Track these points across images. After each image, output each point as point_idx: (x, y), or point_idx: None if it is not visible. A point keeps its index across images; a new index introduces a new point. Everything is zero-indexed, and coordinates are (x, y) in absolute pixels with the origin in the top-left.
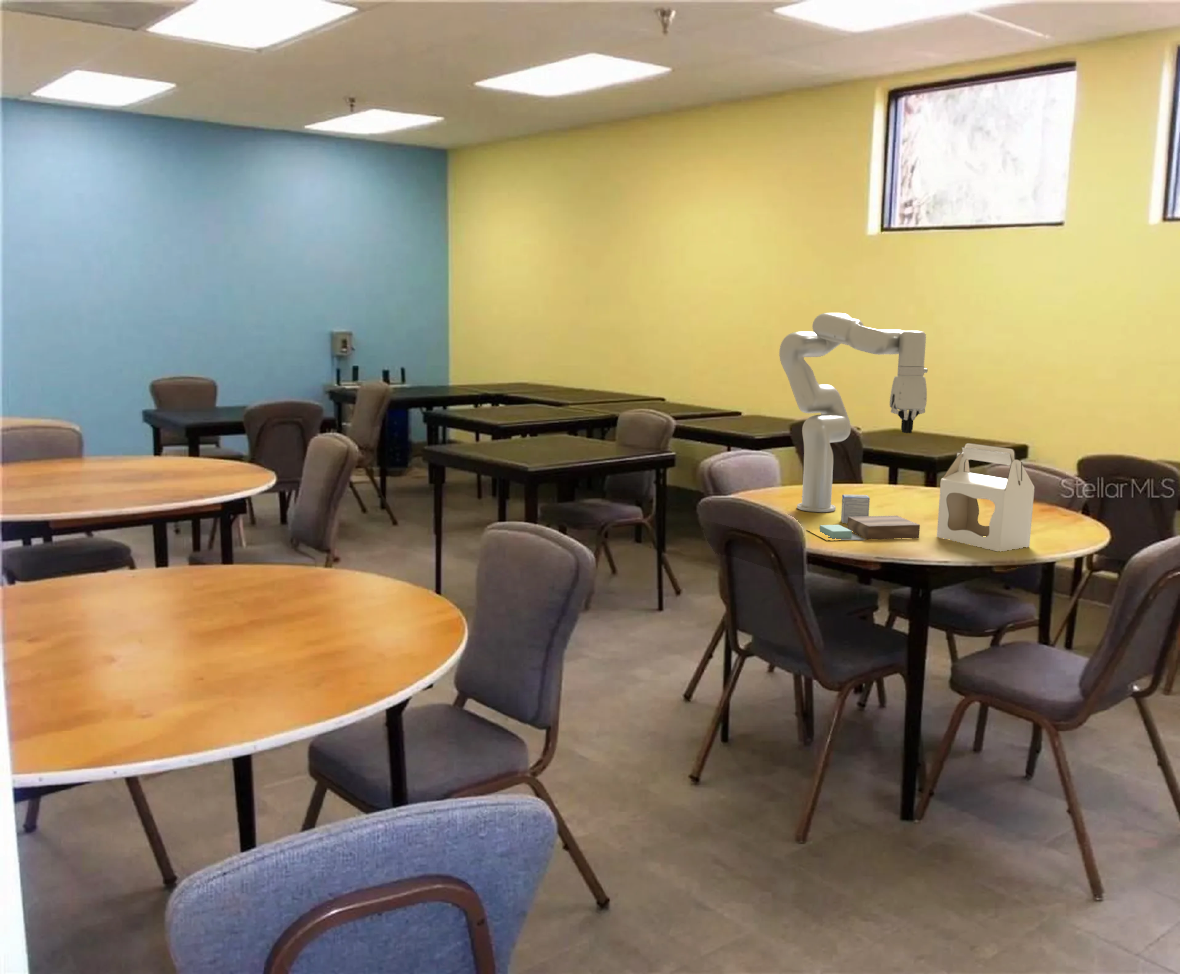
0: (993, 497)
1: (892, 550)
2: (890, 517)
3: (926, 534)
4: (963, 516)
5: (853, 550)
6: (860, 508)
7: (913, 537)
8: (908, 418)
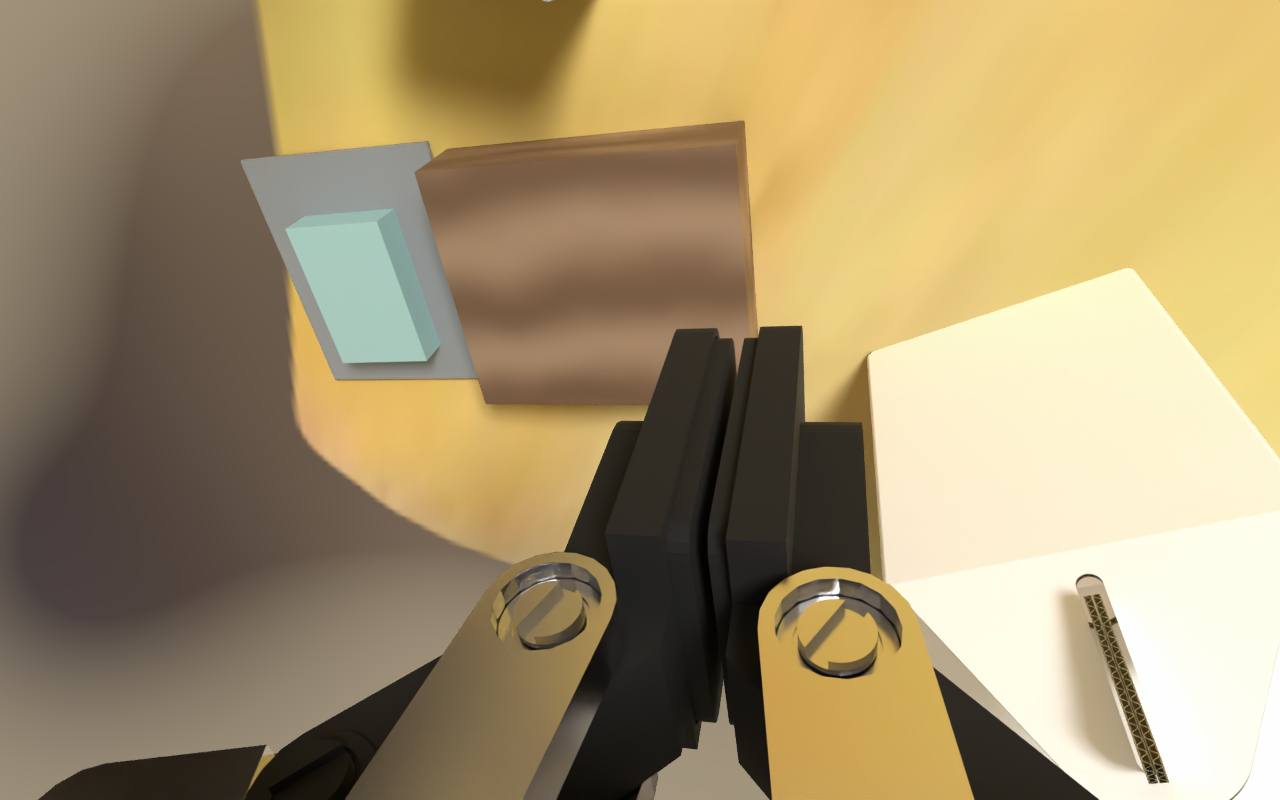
0: None
1: (562, 524)
2: (667, 203)
3: (849, 287)
4: (1121, 334)
5: (425, 504)
6: None
7: None
8: (733, 699)
